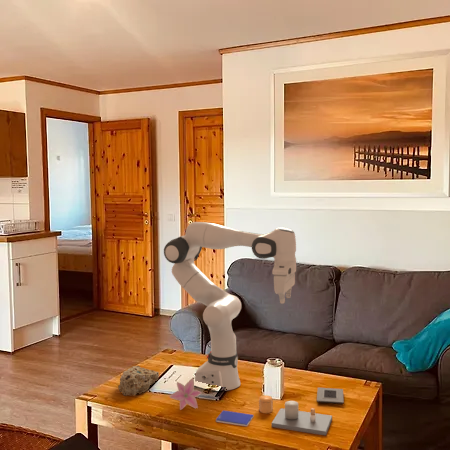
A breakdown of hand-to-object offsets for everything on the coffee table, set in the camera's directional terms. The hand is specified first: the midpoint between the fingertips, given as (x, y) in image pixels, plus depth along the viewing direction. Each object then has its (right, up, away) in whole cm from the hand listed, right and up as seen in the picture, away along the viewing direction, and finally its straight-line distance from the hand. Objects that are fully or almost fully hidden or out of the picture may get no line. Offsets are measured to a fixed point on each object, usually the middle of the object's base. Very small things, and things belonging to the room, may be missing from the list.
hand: (285, 300), depth 216 cm
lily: (-41, -43, -2) cm, 59 cm away
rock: (-63, -42, +17) cm, 78 cm away
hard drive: (-21, -44, -15) cm, 51 cm away
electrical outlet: (+19, -41, +1) cm, 45 cm away
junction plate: (+4, -43, -20) cm, 47 cm away
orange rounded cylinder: (-9, -42, -8) cm, 44 cm away
